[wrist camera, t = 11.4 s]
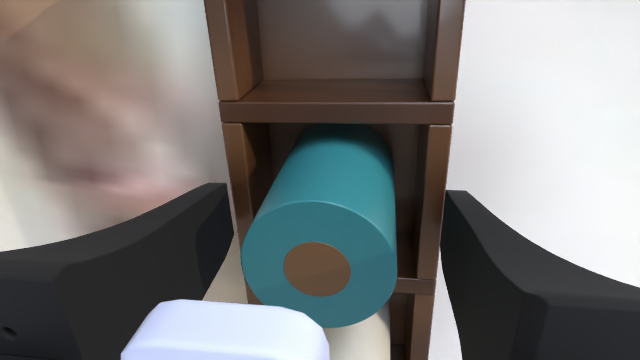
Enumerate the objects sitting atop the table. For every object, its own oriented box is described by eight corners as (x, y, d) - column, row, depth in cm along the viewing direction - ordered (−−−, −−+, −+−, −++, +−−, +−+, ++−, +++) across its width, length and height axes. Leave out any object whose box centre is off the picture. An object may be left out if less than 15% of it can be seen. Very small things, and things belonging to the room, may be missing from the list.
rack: (417, 348, 21) (422, 412, 18) (278, 336, 22) (260, 395, 19) (461, -147, 12) (485, -186, 9) (227, -128, 13) (179, -158, 10)
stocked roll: (388, 331, 20) (388, 473, 15) (303, 324, 21) (271, 458, 15) (391, 260, 19) (393, 392, 13) (298, 255, 19) (259, 378, 13)
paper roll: (392, 215, 18) (394, 335, 12) (293, 211, 18) (249, 323, 12) (396, 118, 16) (401, 204, 10) (286, 117, 16) (230, 198, 11)
